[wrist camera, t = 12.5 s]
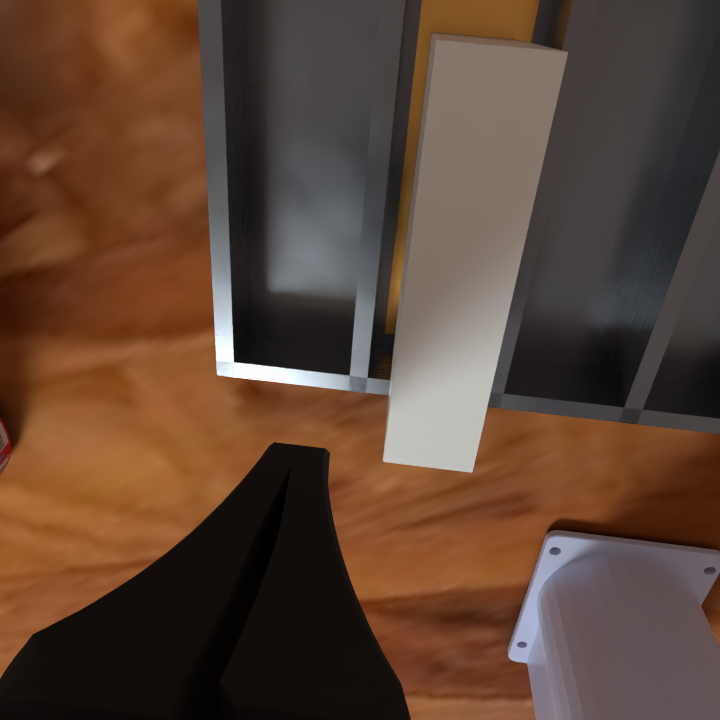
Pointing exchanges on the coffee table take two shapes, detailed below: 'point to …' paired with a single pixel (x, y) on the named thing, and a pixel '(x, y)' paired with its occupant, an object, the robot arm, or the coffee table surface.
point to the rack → (395, 183)
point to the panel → (465, 238)
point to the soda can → (4, 447)
